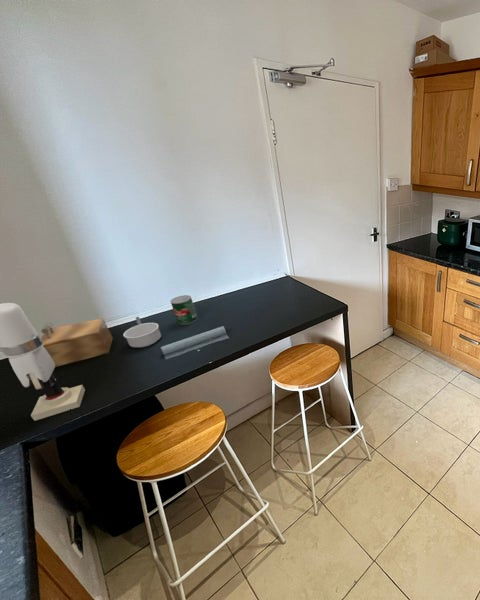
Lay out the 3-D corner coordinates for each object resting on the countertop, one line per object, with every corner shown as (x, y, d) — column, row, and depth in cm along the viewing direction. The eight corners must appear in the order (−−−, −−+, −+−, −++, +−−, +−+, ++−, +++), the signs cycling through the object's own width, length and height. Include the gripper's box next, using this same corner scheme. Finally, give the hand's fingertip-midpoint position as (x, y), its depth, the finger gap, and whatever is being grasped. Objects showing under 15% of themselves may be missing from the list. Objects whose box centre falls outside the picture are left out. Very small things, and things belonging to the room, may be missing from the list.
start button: (47, 404, 95) (44, 400, 94) (51, 397, 98) (48, 393, 97) (64, 399, 97) (61, 395, 96) (66, 392, 99) (64, 388, 99)
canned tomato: (177, 326, 139) (169, 304, 134) (178, 318, 145) (171, 297, 140) (198, 322, 143) (190, 300, 138) (198, 314, 149) (191, 293, 144)
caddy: (53, 367, 114) (41, 347, 110) (62, 350, 124) (51, 331, 120) (108, 353, 122) (99, 334, 118) (112, 337, 131) (103, 319, 127)
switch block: (34, 420, 92) (27, 411, 91) (43, 402, 99) (36, 392, 97) (79, 406, 97) (73, 397, 96) (85, 389, 104) (79, 380, 102)
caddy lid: (37, 347, 110) (30, 335, 107) (47, 331, 119) (41, 320, 117) (98, 334, 118) (93, 323, 116) (103, 319, 127) (99, 309, 125)
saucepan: (157, 323, 142) (153, 312, 139) (165, 341, 129) (160, 330, 126) (125, 332, 135) (120, 321, 132) (130, 353, 122) (124, 341, 119)
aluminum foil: (224, 331, 136) (222, 324, 134) (229, 337, 131) (227, 331, 130) (162, 353, 122) (159, 345, 120) (165, 360, 118) (162, 353, 116)
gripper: (12, 337, 92) (45, 385, 100) (-9, 364, 81) (30, 415, 89) (48, 329, 95) (76, 376, 104) (32, 354, 84) (66, 404, 93)
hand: (55, 394), depth 96 cm, fingers closed
